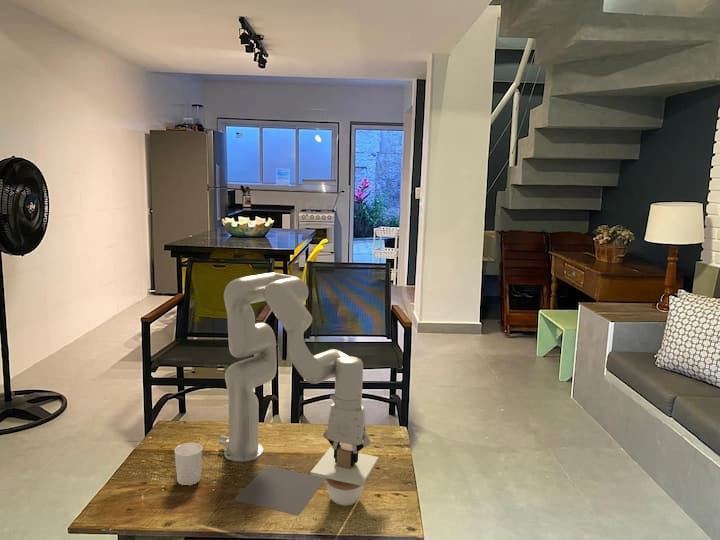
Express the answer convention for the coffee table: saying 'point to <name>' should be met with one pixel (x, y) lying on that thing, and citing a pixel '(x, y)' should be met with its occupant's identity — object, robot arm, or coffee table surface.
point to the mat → (280, 490)
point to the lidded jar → (343, 492)
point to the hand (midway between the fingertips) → (345, 461)
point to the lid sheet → (343, 472)
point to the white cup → (188, 463)
